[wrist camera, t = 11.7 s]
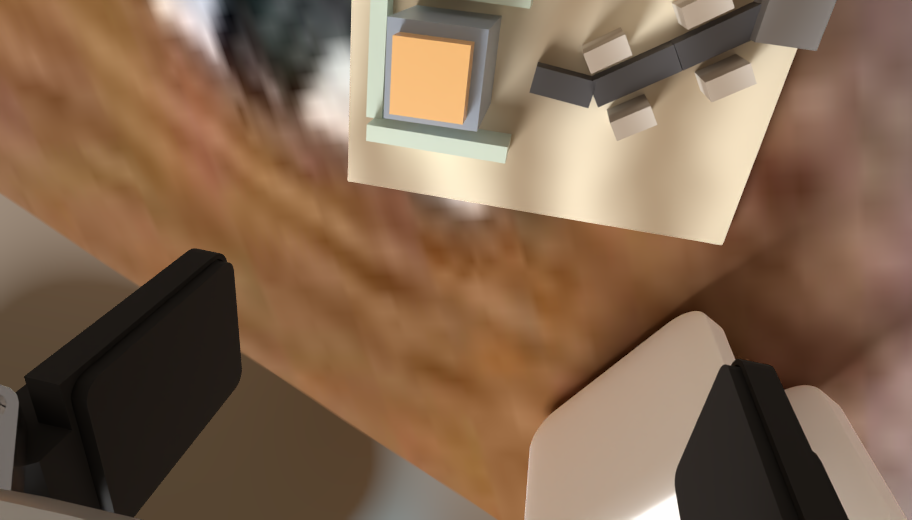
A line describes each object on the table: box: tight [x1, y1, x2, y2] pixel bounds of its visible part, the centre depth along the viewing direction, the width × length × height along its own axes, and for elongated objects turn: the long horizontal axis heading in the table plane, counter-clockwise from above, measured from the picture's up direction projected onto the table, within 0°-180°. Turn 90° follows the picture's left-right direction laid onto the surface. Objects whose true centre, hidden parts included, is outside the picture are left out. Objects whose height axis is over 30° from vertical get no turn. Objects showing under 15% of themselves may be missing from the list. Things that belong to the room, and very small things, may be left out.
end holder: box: [366, 0, 533, 164], centre depth 27 cm, size 7×8×2 cm
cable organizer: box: [525, 311, 907, 520], centre depth 32 cm, size 15×11×12 cm
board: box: [348, 0, 836, 245], centre depth 27 cm, size 20×14×4 cm
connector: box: [384, 5, 502, 132], centre depth 25 cm, size 4×4×6 cm
